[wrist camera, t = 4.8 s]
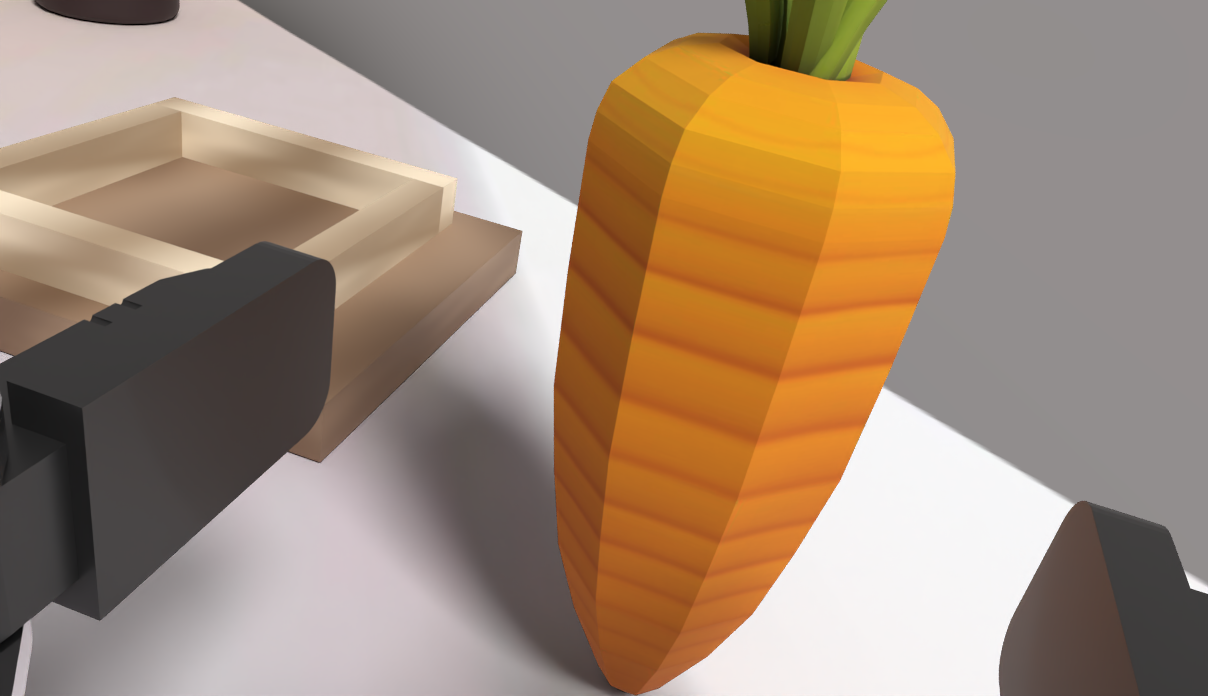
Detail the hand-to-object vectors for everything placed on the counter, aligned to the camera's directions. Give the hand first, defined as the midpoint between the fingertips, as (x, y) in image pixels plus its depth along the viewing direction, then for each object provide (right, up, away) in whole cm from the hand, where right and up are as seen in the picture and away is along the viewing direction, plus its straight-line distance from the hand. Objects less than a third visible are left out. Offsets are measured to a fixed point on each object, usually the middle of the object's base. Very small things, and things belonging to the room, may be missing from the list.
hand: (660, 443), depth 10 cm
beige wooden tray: (-12, +3, +18) cm, 21 cm away
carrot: (0, -5, +7) cm, 9 cm away
